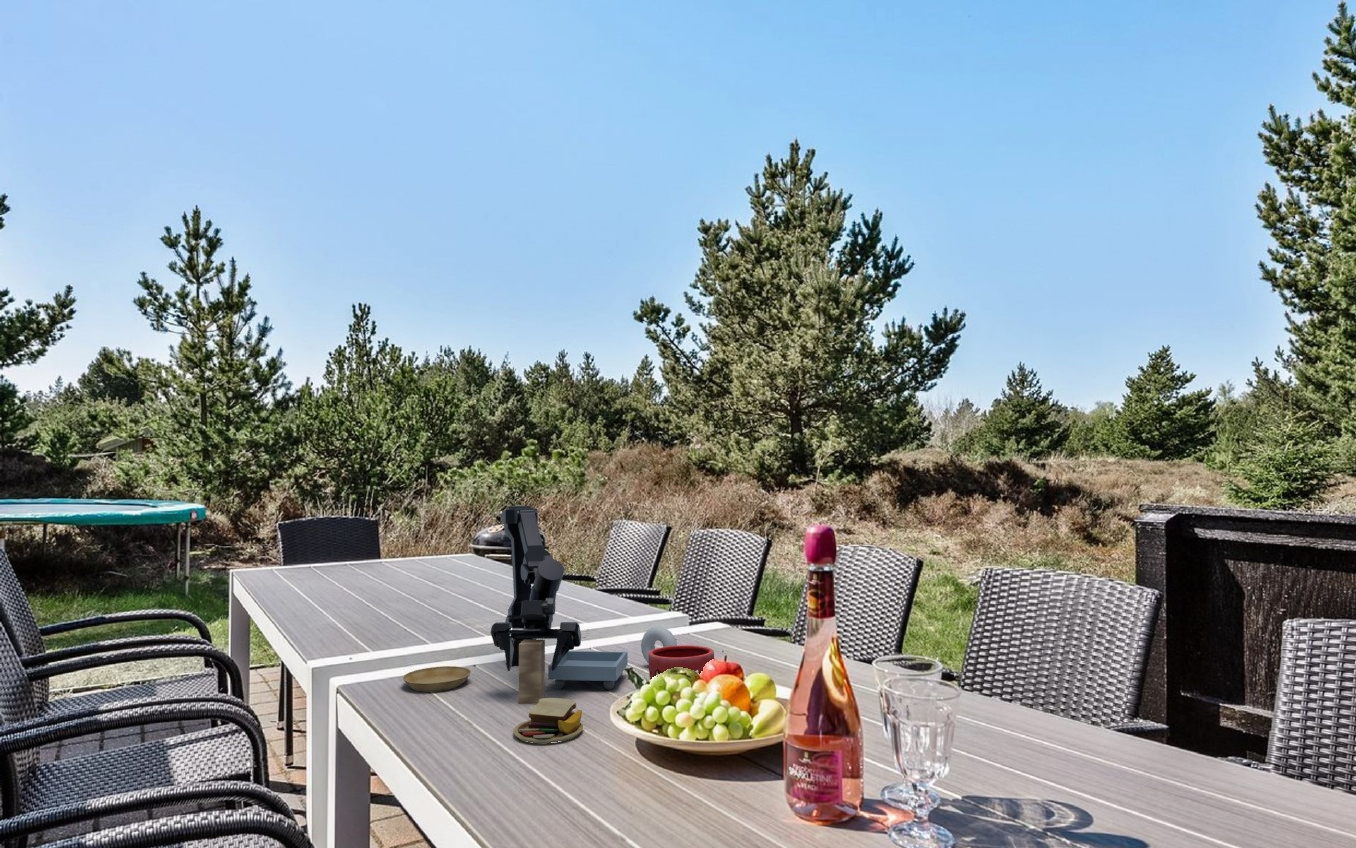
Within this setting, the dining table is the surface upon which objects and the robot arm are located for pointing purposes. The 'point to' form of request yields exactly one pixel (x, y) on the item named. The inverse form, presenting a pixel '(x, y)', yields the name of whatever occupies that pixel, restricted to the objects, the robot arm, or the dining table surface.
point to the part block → (531, 671)
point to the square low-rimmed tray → (589, 667)
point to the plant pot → (679, 658)
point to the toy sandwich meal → (550, 722)
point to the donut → (653, 636)
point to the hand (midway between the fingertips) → (530, 669)
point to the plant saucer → (436, 678)
